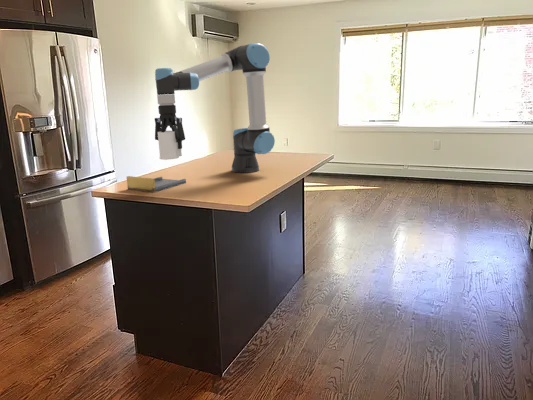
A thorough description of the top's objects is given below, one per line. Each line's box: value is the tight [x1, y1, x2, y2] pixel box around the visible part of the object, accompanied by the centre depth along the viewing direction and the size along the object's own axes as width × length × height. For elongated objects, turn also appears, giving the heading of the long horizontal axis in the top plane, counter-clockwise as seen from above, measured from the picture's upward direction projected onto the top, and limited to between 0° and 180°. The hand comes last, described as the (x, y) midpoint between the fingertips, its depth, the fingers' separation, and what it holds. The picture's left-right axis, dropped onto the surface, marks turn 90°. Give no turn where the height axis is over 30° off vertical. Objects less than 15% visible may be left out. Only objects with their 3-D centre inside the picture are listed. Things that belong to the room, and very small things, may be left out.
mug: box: [157, 130, 180, 161], centre depth 195 cm, size 12×8×12 cm
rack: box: [126, 175, 187, 193], centre depth 203 cm, size 16×22×6 cm
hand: (171, 155), depth 196 cm, fingers closed on mug, 8 cm apart
